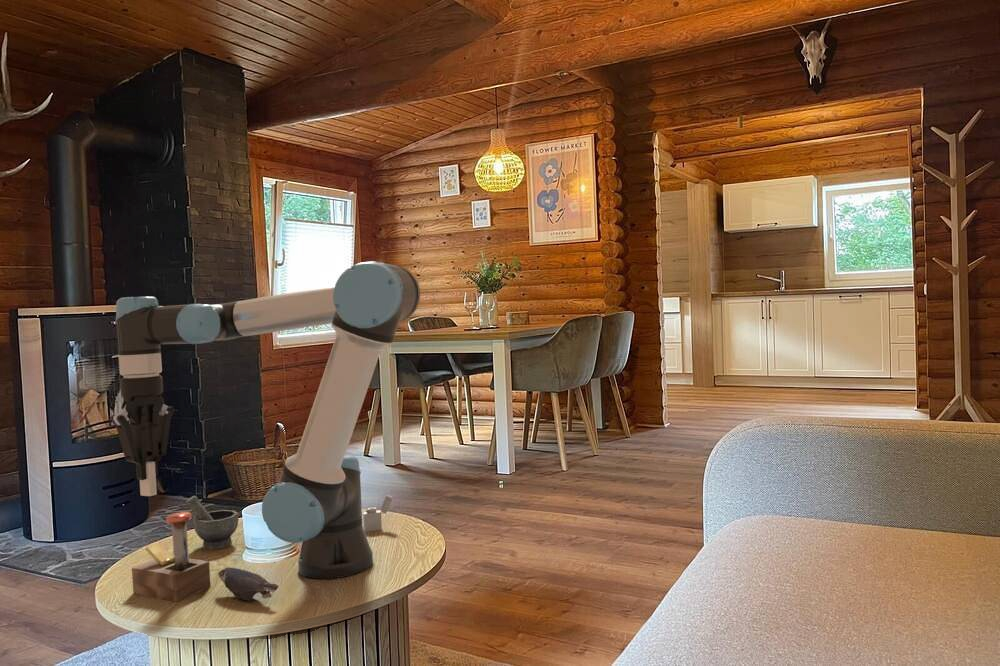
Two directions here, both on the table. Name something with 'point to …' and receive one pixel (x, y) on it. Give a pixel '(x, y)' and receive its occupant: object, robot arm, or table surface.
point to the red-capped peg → (180, 539)
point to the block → (170, 580)
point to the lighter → (375, 516)
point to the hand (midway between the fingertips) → (148, 494)
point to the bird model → (246, 583)
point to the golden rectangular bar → (160, 554)
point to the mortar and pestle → (213, 524)
